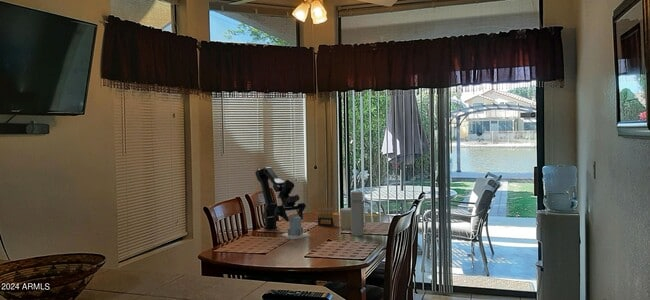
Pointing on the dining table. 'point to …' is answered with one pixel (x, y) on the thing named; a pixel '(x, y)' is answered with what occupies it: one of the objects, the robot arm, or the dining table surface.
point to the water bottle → (357, 213)
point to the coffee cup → (345, 218)
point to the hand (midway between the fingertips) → (295, 220)
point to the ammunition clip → (325, 217)
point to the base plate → (296, 235)
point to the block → (295, 225)
